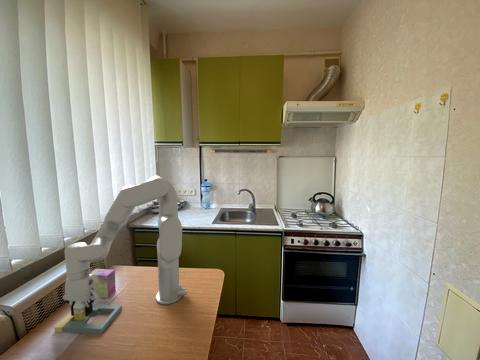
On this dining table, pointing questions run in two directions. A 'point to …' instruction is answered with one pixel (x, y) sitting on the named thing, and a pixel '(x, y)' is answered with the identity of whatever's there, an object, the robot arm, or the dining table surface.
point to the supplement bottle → (80, 311)
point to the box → (104, 282)
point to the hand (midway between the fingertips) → (82, 313)
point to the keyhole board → (81, 327)
